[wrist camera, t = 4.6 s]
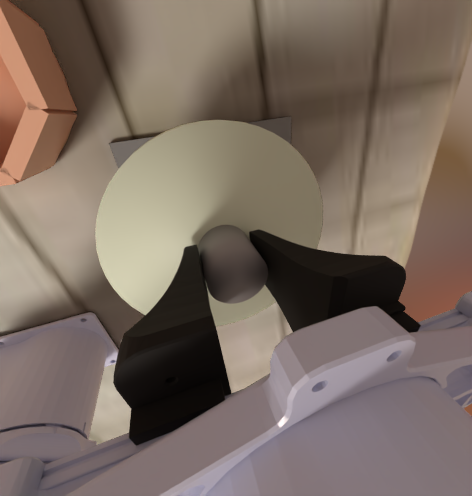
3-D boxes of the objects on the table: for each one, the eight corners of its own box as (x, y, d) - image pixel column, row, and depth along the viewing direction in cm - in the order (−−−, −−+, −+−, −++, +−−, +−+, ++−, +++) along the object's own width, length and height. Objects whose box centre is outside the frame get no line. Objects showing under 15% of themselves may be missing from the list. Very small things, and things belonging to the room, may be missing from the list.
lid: (145, 337, 16) (141, 395, 13) (45, 141, 9) (-21, 154, 6) (307, 290, 18) (339, 328, 15) (324, 104, 12) (389, 99, 8)
